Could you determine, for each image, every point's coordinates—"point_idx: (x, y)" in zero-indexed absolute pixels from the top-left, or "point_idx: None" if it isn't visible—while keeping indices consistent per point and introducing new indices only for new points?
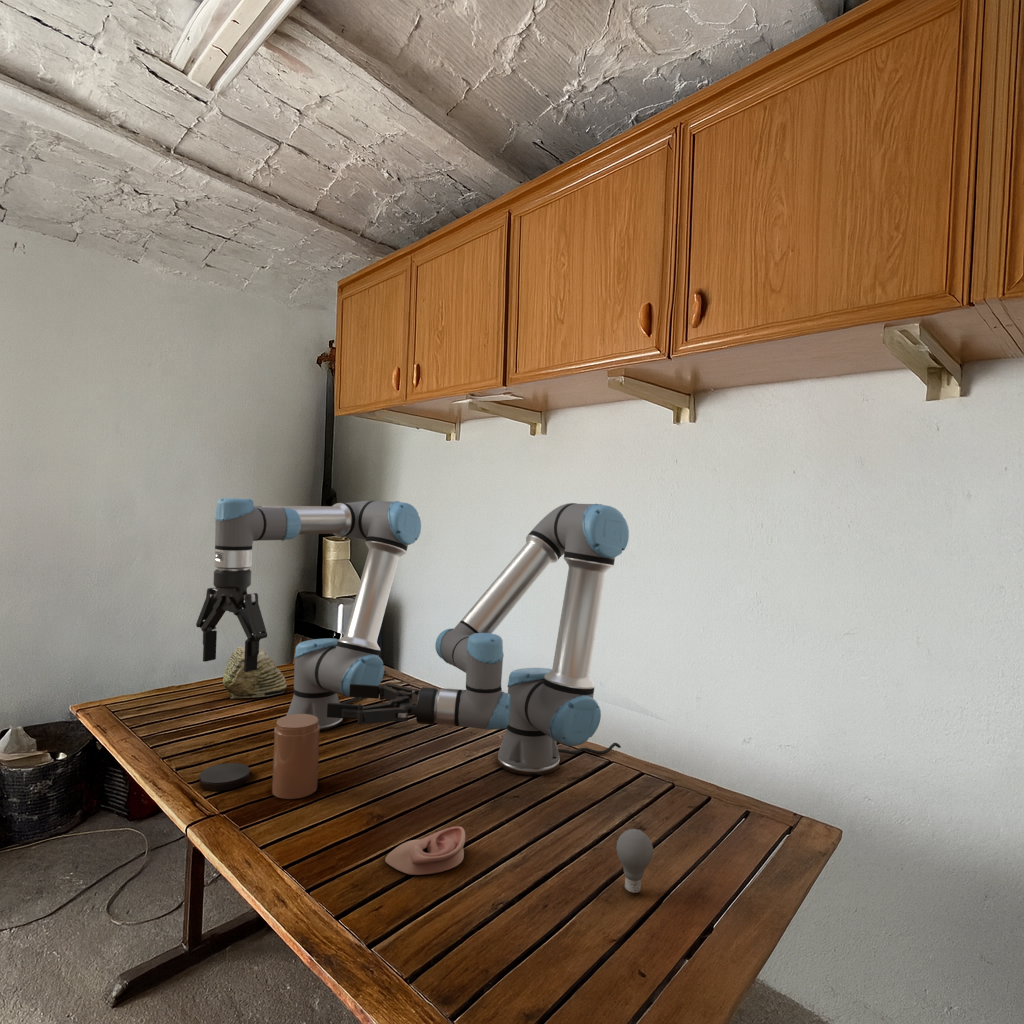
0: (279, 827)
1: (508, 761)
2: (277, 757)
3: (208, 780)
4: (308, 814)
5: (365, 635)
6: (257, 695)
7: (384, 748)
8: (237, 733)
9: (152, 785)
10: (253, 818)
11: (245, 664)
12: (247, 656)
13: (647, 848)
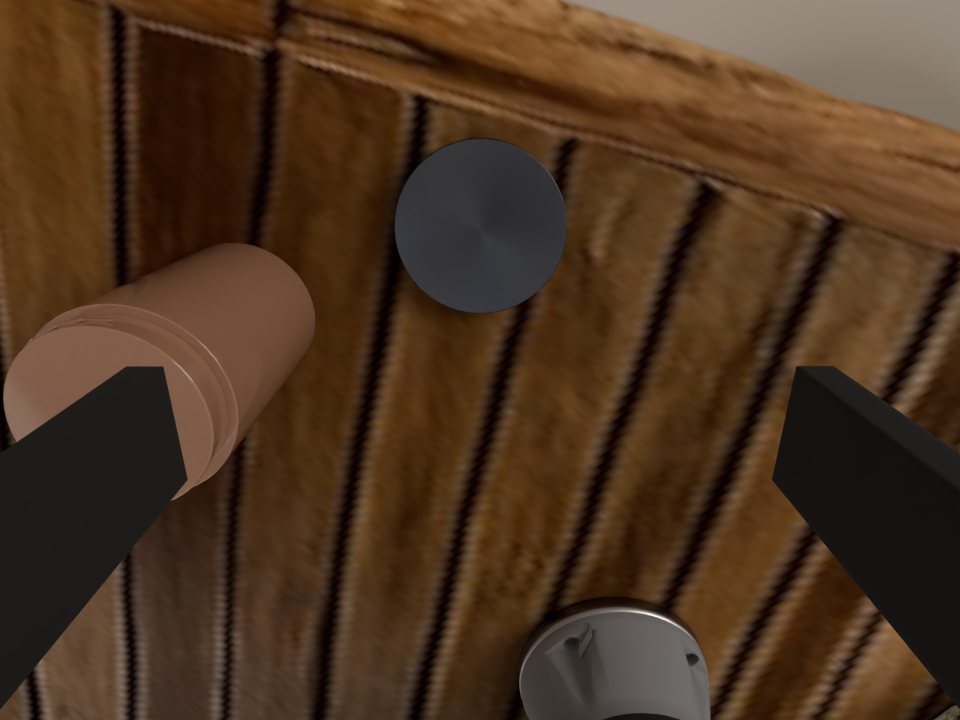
0: (38, 100)
1: None
2: (175, 274)
3: (470, 148)
4: (55, 217)
5: None
6: (948, 718)
7: (278, 639)
8: (766, 495)
9: (672, 46)
10: (156, 92)
11: (101, 400)
12: (11, 458)
13: None
